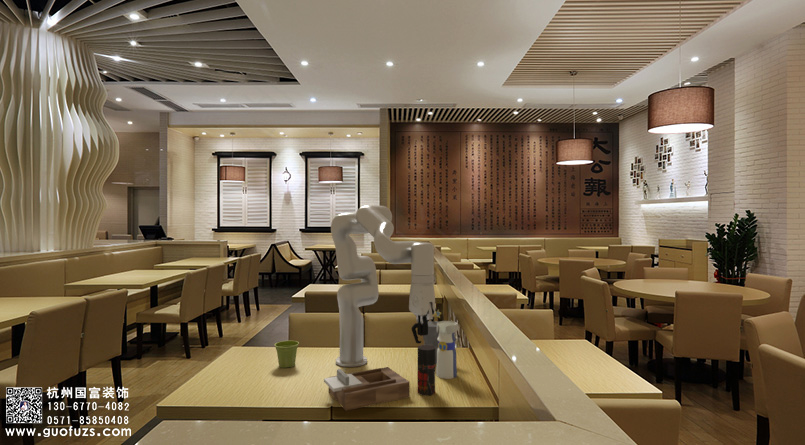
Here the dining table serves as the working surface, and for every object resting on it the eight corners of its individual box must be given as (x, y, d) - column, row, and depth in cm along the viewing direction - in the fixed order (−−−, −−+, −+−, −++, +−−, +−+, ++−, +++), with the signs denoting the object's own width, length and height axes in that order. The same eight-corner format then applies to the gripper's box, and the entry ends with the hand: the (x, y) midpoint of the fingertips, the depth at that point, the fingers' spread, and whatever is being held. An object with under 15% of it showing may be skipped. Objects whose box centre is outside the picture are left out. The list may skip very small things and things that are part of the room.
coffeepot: (444, 356, 187) (444, 313, 187) (451, 363, 178) (451, 318, 178) (408, 358, 184) (408, 315, 183) (414, 365, 174) (414, 320, 174)
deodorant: (416, 388, 151) (416, 345, 151) (433, 388, 152) (433, 344, 151) (418, 395, 145) (418, 350, 145) (436, 395, 146) (436, 349, 146)
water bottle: (452, 380, 159) (453, 311, 158) (431, 376, 163) (431, 308, 163) (462, 374, 166) (462, 307, 165) (441, 369, 170) (442, 304, 170)
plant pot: (269, 367, 172) (269, 345, 172) (284, 360, 180) (284, 339, 180) (289, 371, 168) (289, 348, 168) (303, 363, 177) (303, 341, 177)
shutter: (323, 381, 144) (323, 370, 144) (351, 376, 148) (351, 366, 148) (333, 391, 135) (333, 380, 135) (362, 386, 140) (362, 375, 140)
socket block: (328, 392, 148) (328, 374, 148) (387, 380, 158) (387, 364, 158) (345, 410, 134) (345, 391, 134) (409, 397, 144) (409, 379, 144)
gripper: (402, 277, 152) (402, 331, 153) (424, 283, 139) (424, 341, 139) (420, 276, 156) (421, 328, 156) (444, 281, 143) (444, 338, 143)
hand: (422, 334), depth 148 cm, fingers closed
